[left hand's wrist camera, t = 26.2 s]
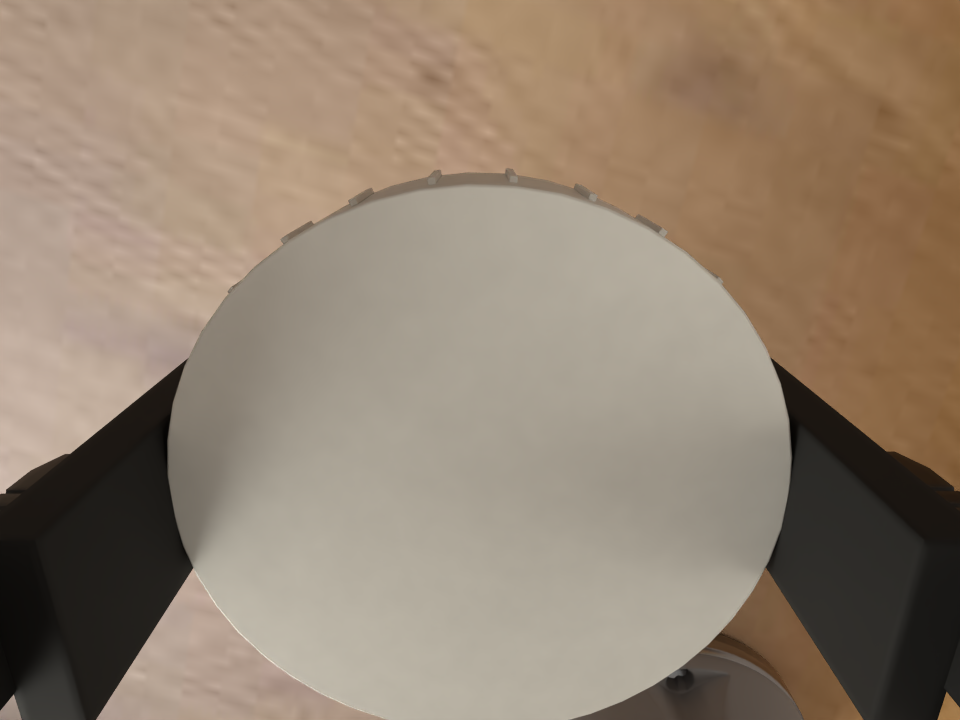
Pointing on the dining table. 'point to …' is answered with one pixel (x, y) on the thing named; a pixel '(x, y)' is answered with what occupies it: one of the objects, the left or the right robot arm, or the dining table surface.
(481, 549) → the lid
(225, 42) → the dining table surface
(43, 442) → the dining table surface
